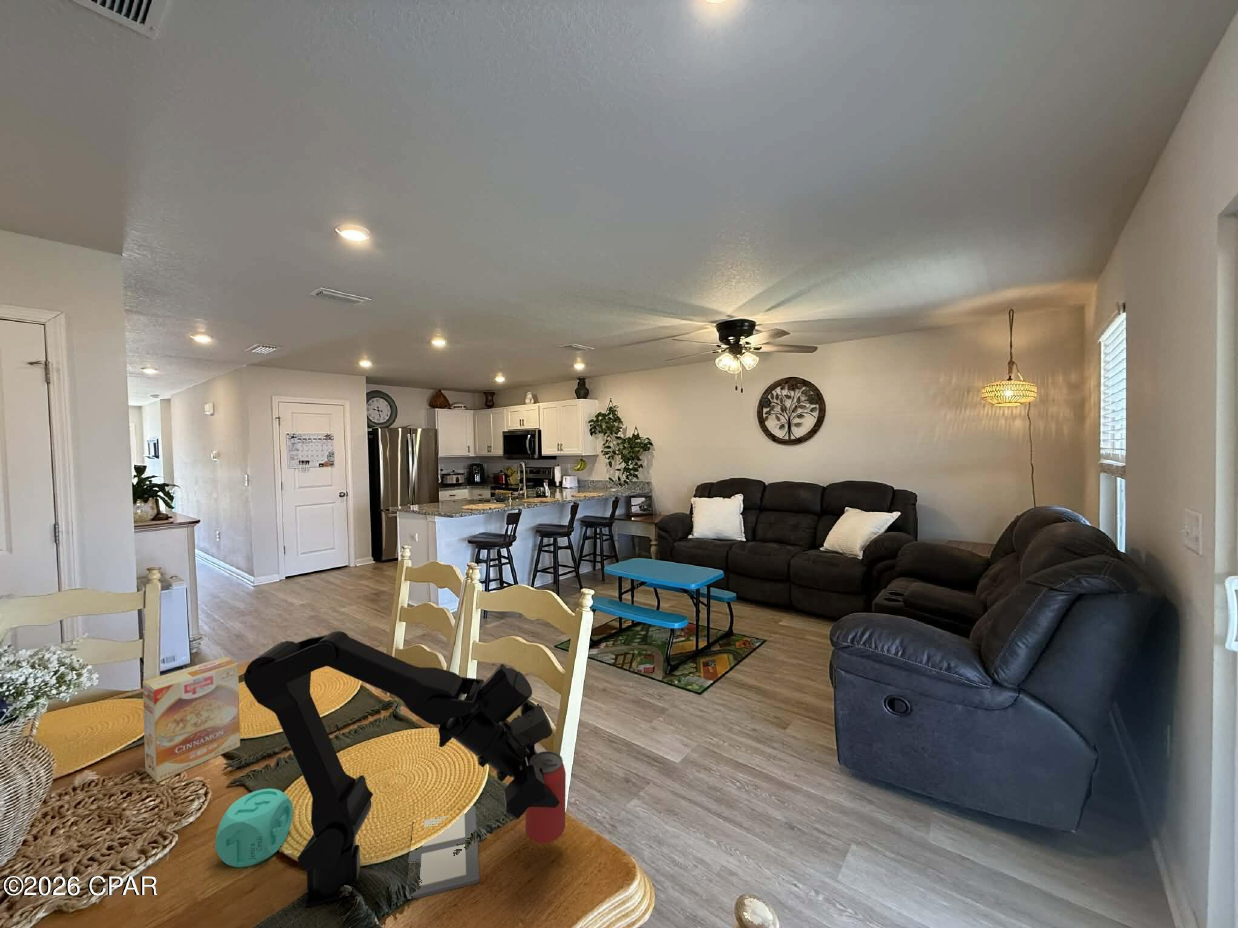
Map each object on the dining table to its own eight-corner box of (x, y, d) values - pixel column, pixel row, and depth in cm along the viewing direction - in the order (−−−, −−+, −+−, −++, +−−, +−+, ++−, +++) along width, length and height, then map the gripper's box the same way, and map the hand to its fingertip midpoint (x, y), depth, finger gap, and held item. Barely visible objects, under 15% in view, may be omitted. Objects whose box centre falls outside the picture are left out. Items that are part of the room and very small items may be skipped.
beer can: (557, 849, 81) (558, 776, 81) (519, 842, 82) (519, 770, 82) (570, 819, 88) (570, 751, 87) (533, 813, 89) (534, 746, 88)
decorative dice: (215, 869, 83) (213, 821, 82) (247, 831, 91) (246, 788, 90) (266, 867, 83) (264, 819, 83) (294, 829, 91) (293, 786, 91)
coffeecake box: (156, 783, 103) (152, 689, 103) (144, 771, 107) (140, 680, 106) (241, 746, 116) (239, 662, 115) (228, 736, 120) (225, 655, 119)
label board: (404, 901, 77) (404, 896, 77) (413, 821, 93) (413, 817, 93) (479, 882, 80) (479, 877, 80) (475, 808, 97) (475, 804, 97)
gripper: (530, 727, 74) (602, 786, 78) (515, 671, 92) (575, 722, 96) (473, 791, 72) (550, 848, 76) (470, 721, 90) (532, 770, 93)
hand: (553, 790), depth 85 cm, fingers closed on beer can, 6 cm apart
